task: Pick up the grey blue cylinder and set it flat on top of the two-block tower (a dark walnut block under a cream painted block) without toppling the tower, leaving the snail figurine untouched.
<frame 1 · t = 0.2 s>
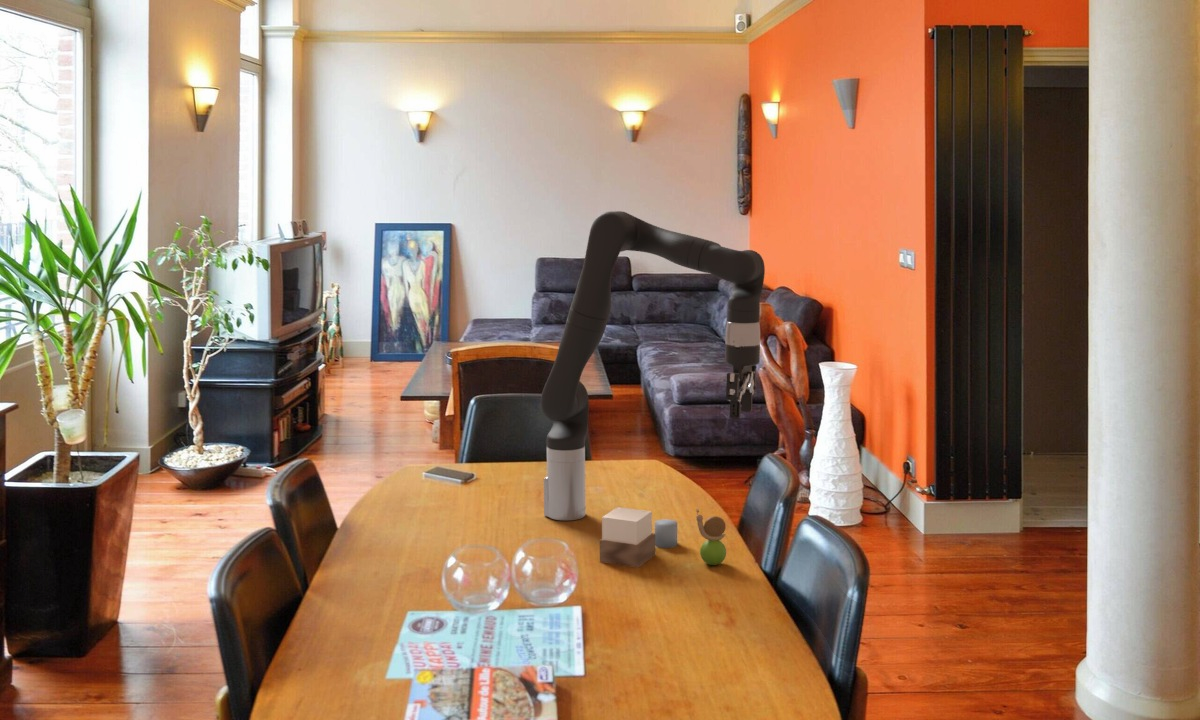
hand: (740, 414, 235), 29 cm above the table, fingers open, 8 cm apart
tower base: (627, 559, 228), on the table, touching tower top
snail figurine: (710, 565, 224), on the table
grey blue cylinder: (665, 544, 237), on the table
tower top: (627, 536, 227), point 5 cm above the table, touching tower base
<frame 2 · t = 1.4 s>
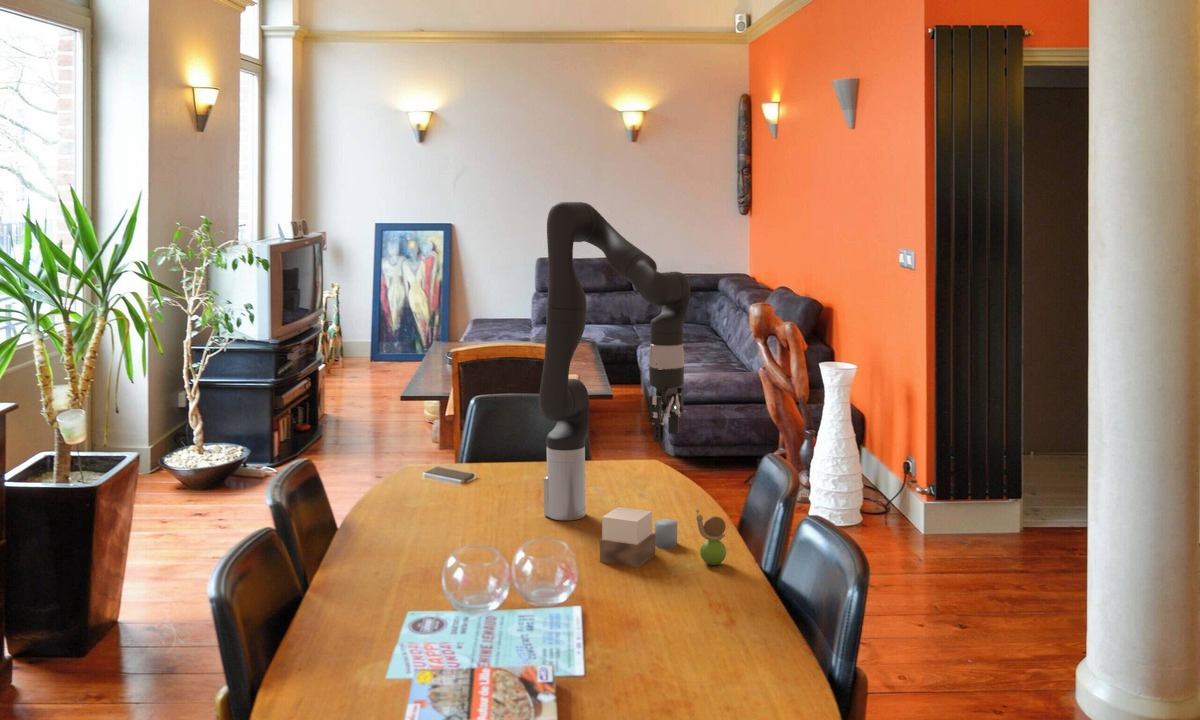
hand: (666, 437, 233), 24 cm above the table, fingers open, 8 cm apart
nothing on the table moved.
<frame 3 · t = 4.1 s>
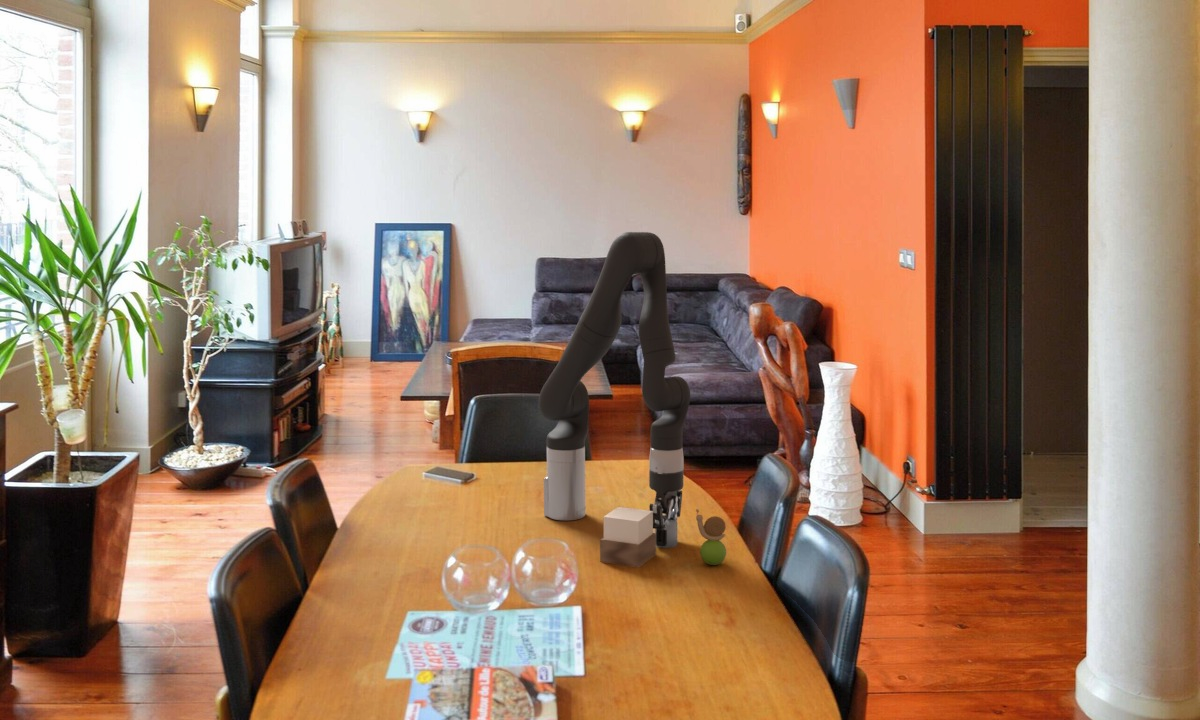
hand: (666, 541, 237), 1 cm above the table, fingers closed on grey blue cylinder, 5 cm apart
grey blue cylinder: (666, 544, 237), on the table, touching gripper
everything else where it was.
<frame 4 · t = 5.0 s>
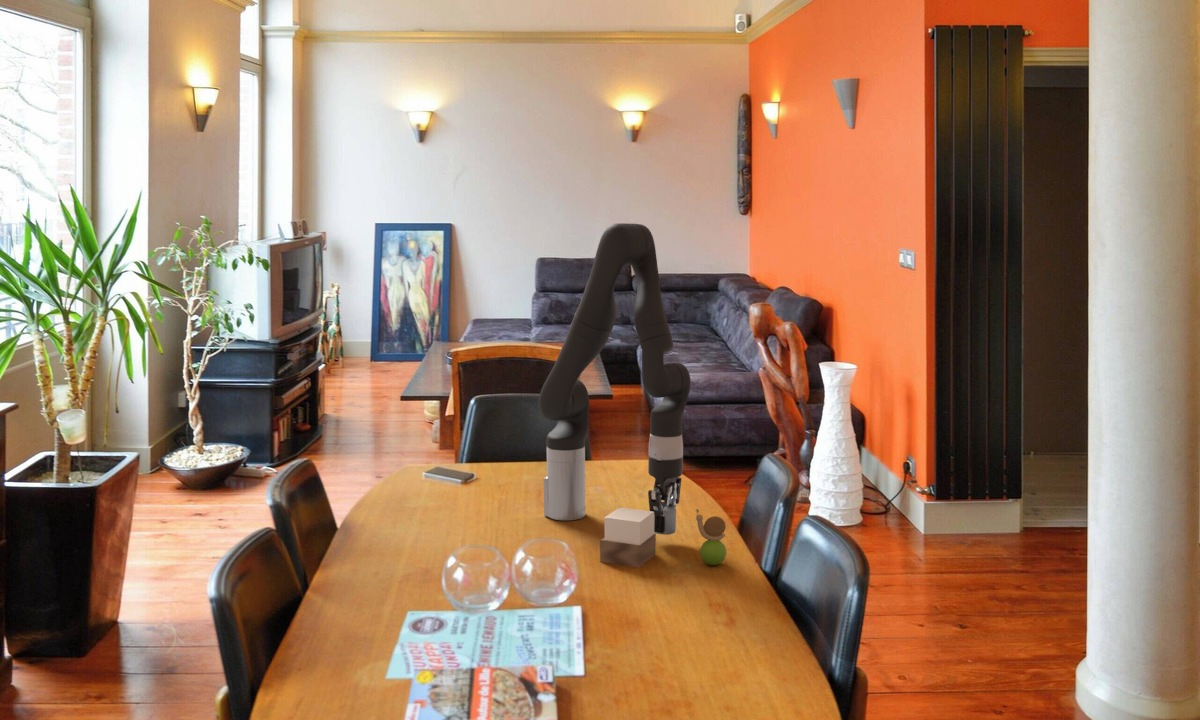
hand: (664, 528, 237), 4 cm above the table, fingers closed on grey blue cylinder, 5 cm apart
grey blue cylinder: (664, 531, 237), point 3 cm above the table, touching gripper
everything else where it was.
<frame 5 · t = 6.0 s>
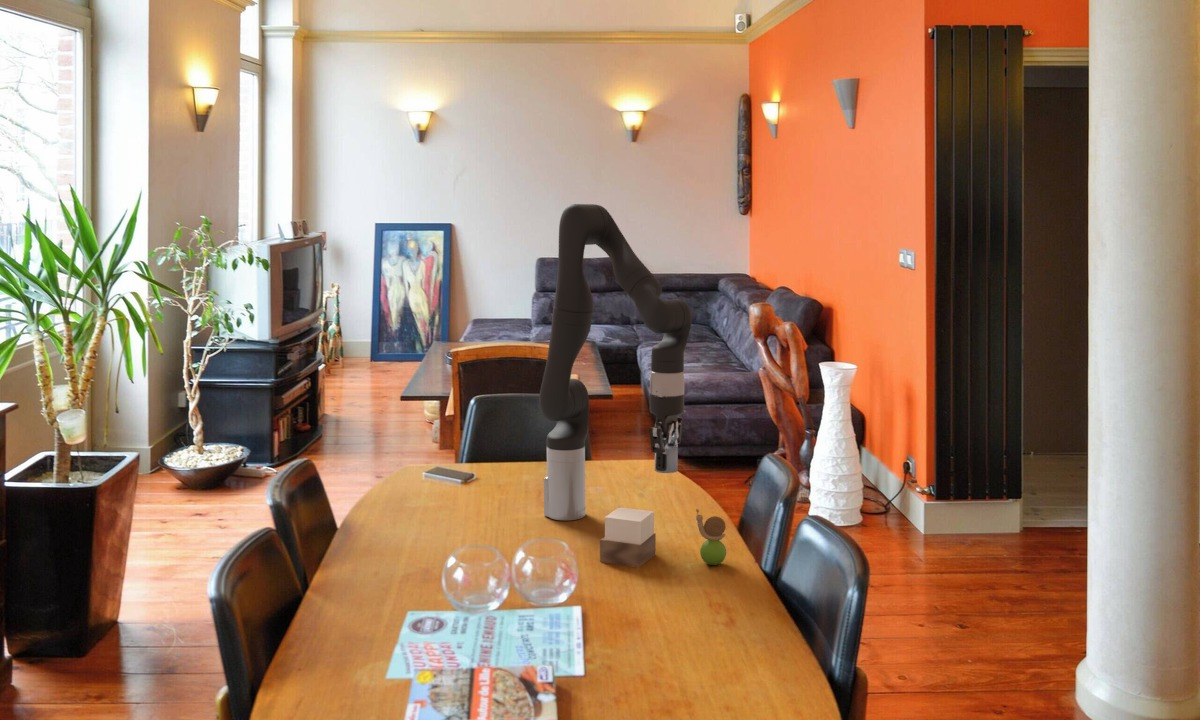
hand: (665, 467, 234), 18 cm above the table, fingers closed on grey blue cylinder, 5 cm apart
grey blue cylinder: (666, 470, 234), point 17 cm above the table, touching gripper
everything else where it was.
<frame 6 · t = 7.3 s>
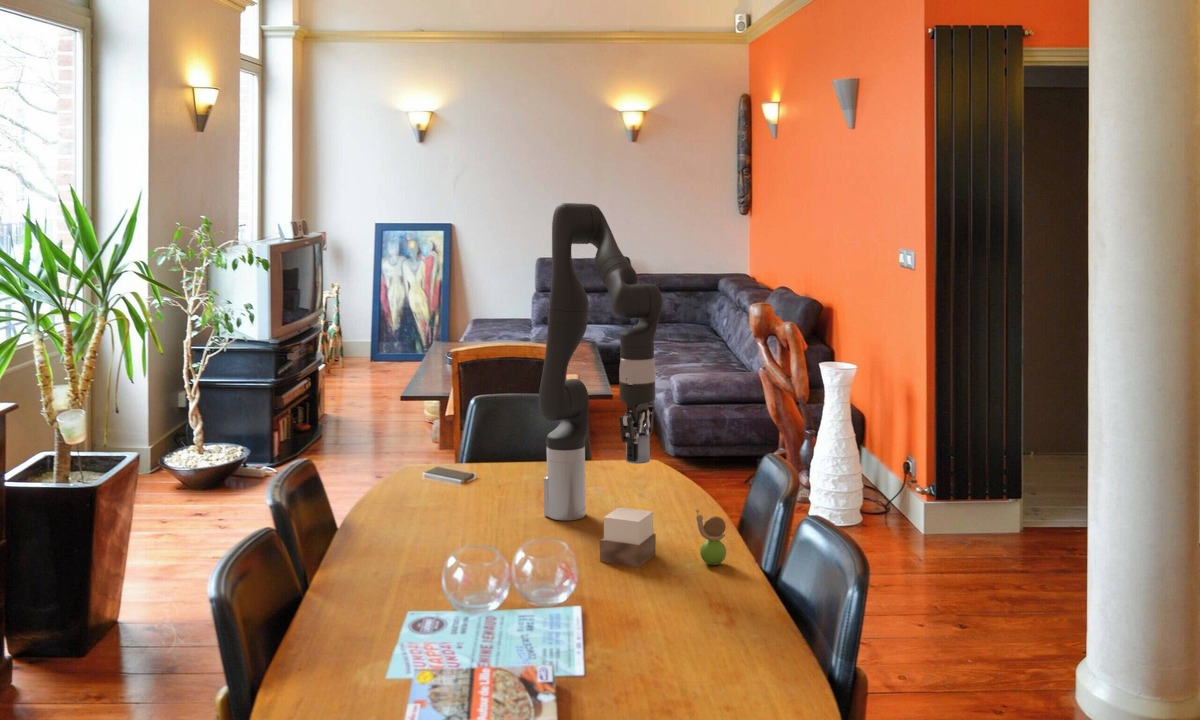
hand: (637, 457, 227), 22 cm above the table, fingers closed on grey blue cylinder, 5 cm apart
grey blue cylinder: (637, 460, 227), point 21 cm above the table, touching gripper
everything else where it was.
when the fingers open (12 cm above the table, at t = 10.8 s): grey blue cylinder drops 1 cm, resting on tower top.
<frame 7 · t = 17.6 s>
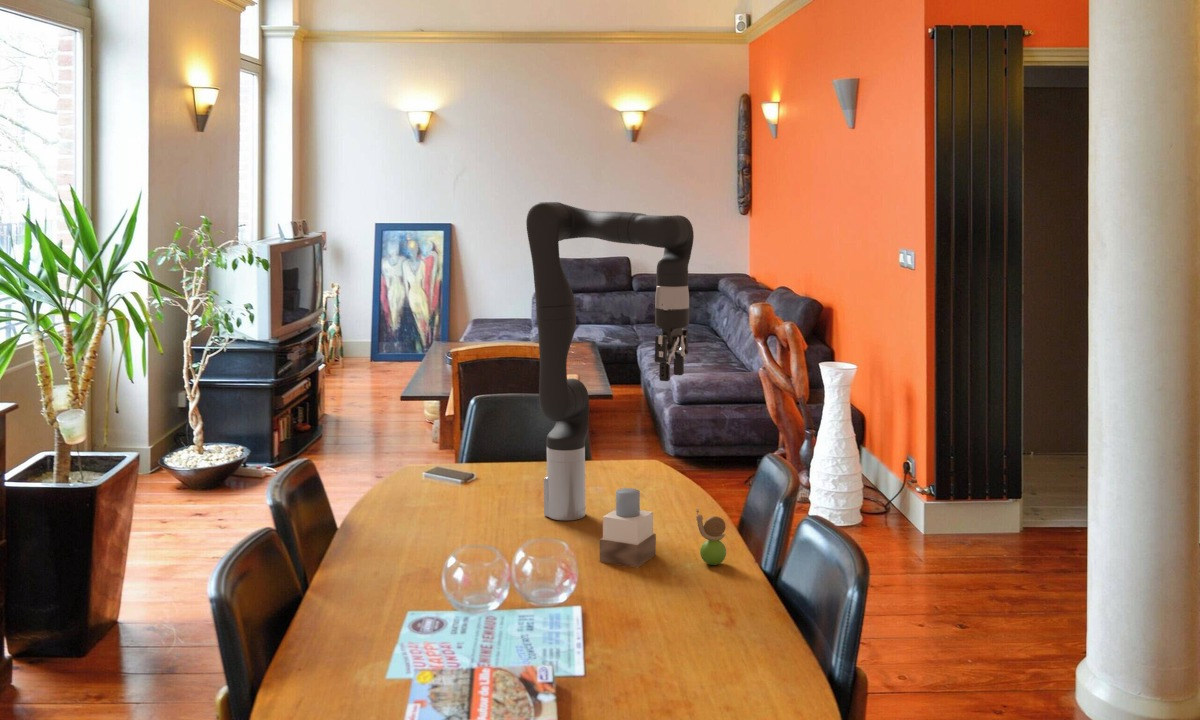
hand: (671, 377, 239), 36 cm above the table, fingers open, 8 cm apart
grey blue cylinder: (627, 514, 226), point 10 cm above the table, touching tower top
tower top: (628, 536, 227), point 5 cm above the table, touching grey blue cylinder, tower base
everything else where it was.
at the end: grey blue cylinder 0.2 cm off-centre on the tower base, point 10.0 cm above the tower base's base; tower top 0.3 cm off-centre on the tower base, point 5.0 cm above the tower base's base; grey blue cylinder tilted 0° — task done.
